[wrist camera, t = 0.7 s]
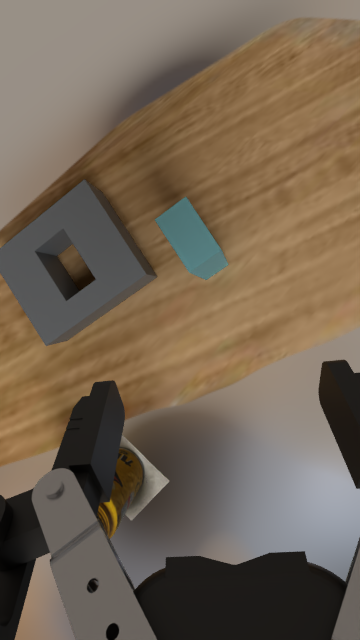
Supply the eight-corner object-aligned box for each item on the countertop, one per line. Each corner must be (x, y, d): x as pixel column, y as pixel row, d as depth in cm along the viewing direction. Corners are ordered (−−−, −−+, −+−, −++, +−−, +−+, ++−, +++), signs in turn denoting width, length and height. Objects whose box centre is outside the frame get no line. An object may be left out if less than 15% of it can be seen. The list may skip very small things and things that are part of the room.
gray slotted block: (102, 192, 39) (84, 179, 35) (157, 276, 39) (146, 274, 34) (16, 260, 42) (-10, 256, 38) (66, 340, 42) (46, 345, 37)
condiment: (119, 431, 41) (69, 485, 29) (169, 480, 40) (139, 555, 29) (84, 470, 42) (22, 537, 31) (132, 518, 42) (88, 606, 30)
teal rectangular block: (203, 227, 38) (185, 196, 26) (228, 264, 37) (221, 250, 26) (182, 243, 38) (154, 219, 26) (206, 280, 38) (189, 272, 26)
